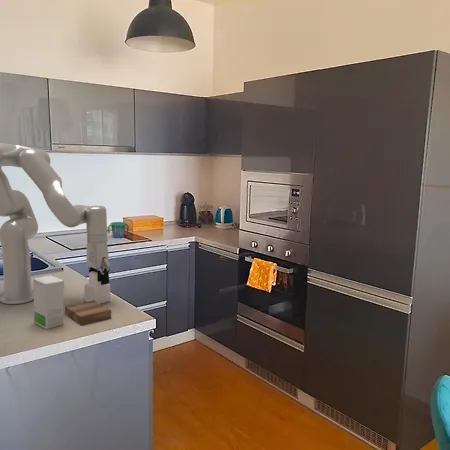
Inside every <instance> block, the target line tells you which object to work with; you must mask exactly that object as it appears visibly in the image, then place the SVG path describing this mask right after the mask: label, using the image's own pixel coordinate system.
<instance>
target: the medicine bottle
mask: <svg viewBox="0 0 450 450" xmlns="http://www.w3.org/2000/svg"><path fill="white" fill-rule="evenodd" d="M100 275H101V271H100V269H97V270H95V271H92V272H90V273H89V272H88V282H86V283H84V284H83V289H84V301H85V302H89V301H93V300H94V301H96V302H98V303H100V304H101V305H102V304H105V303H108V302H111V284H110V283H109V284H104V285H101V276H100Z"/></svg>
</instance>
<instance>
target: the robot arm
mask: <svg viewBox="0 0 450 450" xmlns="http://www.w3.org/2000/svg"><path fill="white" fill-rule="evenodd" d="M2 167H16V168H20V169H22V170H23V171H24V173H26V175H27V176H28V177H29V178H30V179H31V180H32V182H33V183H34V184H35V186H36V187H37V188H38V189H39V191H40V192H41V193H42V196H43V199H44V201H45V204H46V205H47V207H48V209H49V210H50V212H51V213H52V214H53V215H54V217H56V219H57V220H58V221H59V222H60V223H61V224H62V225H63V226H65V227H66V228H75V227H79V226H80V225H83V224H85V225H86V226H85V227H86V228H85V229H86V242H87V243H86V256H85V257H86V265H87V268H88V274H89V273H90V272H92V271H95V270H100V271H101V275H100V276H101V285H104V284H110V271H111V263H110V262H109V261H110V260H109V259H110V258H109V249H108V222H107V221H108V219H107V218H108V217H107V214H108V213H107V208H106V207H105V206H103V205H91V206H90V205H84V204H83V205H82V204H74V205H73V203H72V202H70V200H69V199H68V198H67V196H66V195H65V193H64V190H63V180H62V178H61V177H60V176H59V174H58V173H57V172H56V171H55V170H54V168H53V167H52V166H51V158H50V155H49V154H48V152H46V151H45V150H43V149H40V148H36V147H35V148H33V147H29V146H22V145H19V144H18V145H17V144H14V143H4V142H3V143H2V142H0V217H2V218H4V217H5V218H6V217H9V219H8V220H6V221H5V222H3V224H2V225H1V226H0V245H1V253H2V266H3V267H2V268H3V270H2V271H3V272H2V273H3V289H4V291H3V292H4V294H2V296H0V303H2V304H6V305H19V304H25V303H30V302H32V301H34V291H33V292H32V265H31V264H32V263H31V251H30V247H29V246H30V245H29V242H28V240H31V239H33V238H34V237H36V236H37V233H38V231H39V224H38V221H37V218H36V215H35V213H34V210H33V208H32V205H31V203H30V200H29V199H28V197H27V195H26V194H25V193H23V192H22V191H21V190H17V189H13V188H12V186H11V184H10V182H9V179H8V176H7V175H6V174H5V172H4V171H3V168H2Z"/></svg>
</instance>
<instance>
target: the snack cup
mask: <svg viewBox="0 0 450 450" xmlns="http://www.w3.org/2000/svg"><path fill="white" fill-rule="evenodd" d="M129 227H130V226H129V224H128V223H127V222H123V221H114V222H113V221H111V222H110V224H109V225H107V234H110V233H112V237H113V238H114V239H120V238H124V237H125V231H126V232H130V228H129ZM110 229H111V230H110Z"/></svg>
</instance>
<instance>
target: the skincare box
mask: <svg viewBox="0 0 450 450" xmlns="http://www.w3.org/2000/svg"><path fill="white" fill-rule="evenodd" d="M64 286H65V281H64V280H63V279H61V278H59V277H56V276H53V275H49V274H48V275H45V276H41V277H35V278H33V293H34V300H33V323H34V324H35V325H38V326H39V327H41V328H43V329H45V330H49V329H51V328H56V327H59V326H62V325H64V308H65V306H64V304H65V303H64V300H65V299H64V295H65V294H64V291H65V290H64V289H65V287H64Z"/></svg>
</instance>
